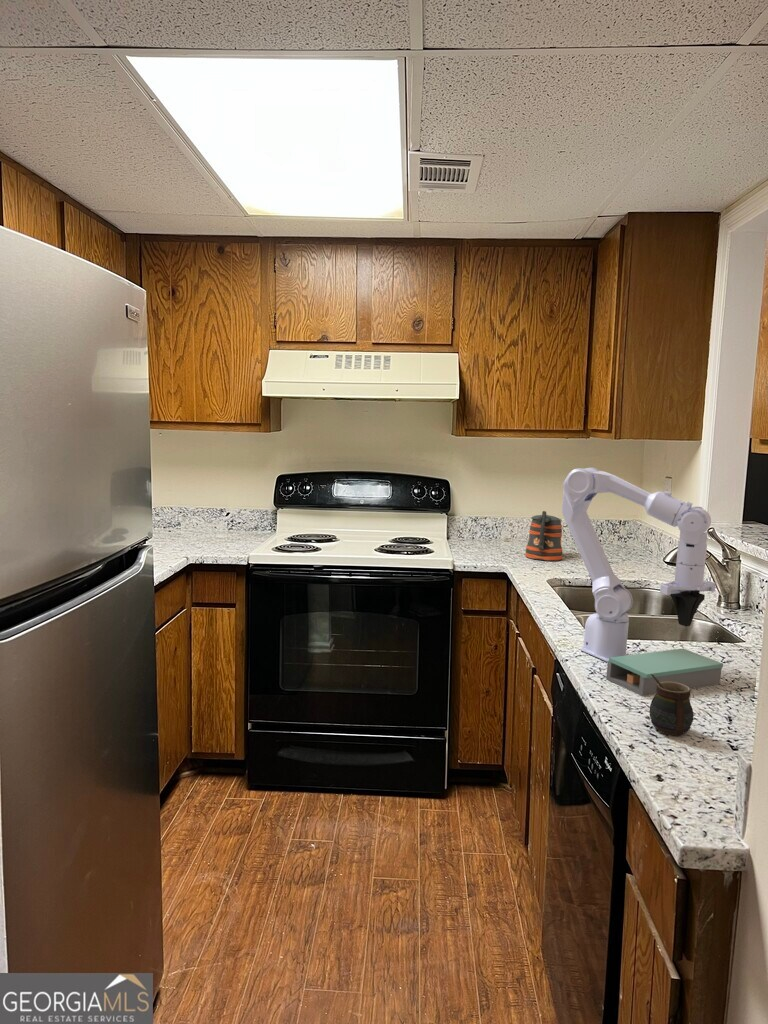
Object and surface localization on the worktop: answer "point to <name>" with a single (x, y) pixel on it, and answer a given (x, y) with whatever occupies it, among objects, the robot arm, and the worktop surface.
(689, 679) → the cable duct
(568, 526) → the robot arm
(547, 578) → the worktop surface
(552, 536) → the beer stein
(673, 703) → the mate gourd
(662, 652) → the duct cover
